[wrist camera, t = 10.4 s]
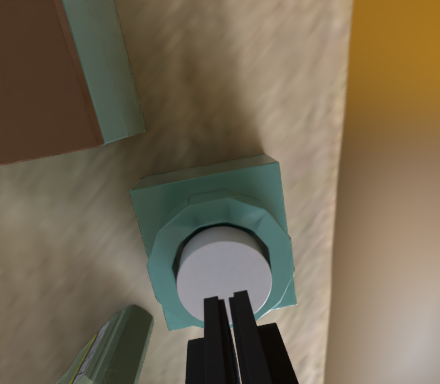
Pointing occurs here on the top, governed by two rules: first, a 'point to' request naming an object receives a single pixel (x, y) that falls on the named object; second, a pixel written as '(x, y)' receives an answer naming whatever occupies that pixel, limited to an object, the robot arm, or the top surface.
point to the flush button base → (214, 224)
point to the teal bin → (106, 67)
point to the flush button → (222, 270)
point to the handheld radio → (114, 351)
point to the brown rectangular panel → (42, 85)
